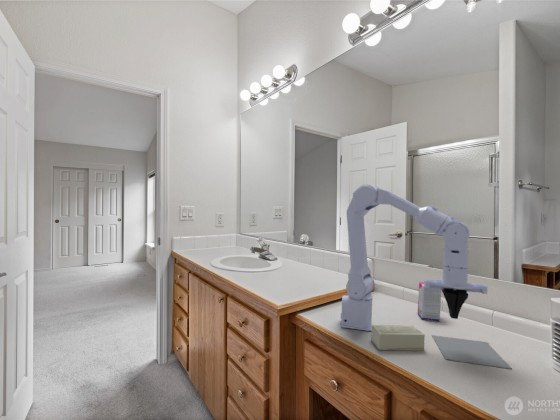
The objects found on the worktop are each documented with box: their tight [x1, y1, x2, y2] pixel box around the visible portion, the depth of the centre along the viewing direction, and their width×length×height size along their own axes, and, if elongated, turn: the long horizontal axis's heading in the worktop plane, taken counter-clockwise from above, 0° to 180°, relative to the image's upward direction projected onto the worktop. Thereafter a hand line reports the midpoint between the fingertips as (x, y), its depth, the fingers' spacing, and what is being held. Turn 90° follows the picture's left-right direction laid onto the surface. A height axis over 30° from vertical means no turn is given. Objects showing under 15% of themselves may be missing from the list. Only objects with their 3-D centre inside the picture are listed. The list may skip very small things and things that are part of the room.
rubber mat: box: [431, 334, 513, 370], centre depth 77 cm, size 14×14×1 cm
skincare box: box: [370, 324, 426, 351], centre depth 79 cm, size 6×4×12 cm
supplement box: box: [417, 281, 442, 322], centre depth 100 cm, size 6×6×12 cm
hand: (453, 317), depth 77 cm, fingers closed
